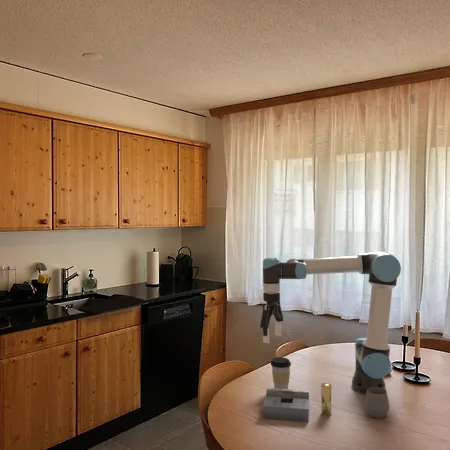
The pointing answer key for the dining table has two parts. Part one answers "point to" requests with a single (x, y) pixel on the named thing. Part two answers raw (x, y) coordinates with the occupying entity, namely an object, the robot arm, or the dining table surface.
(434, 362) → the dining table surface
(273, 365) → the coffee cup
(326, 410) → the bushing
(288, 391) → the block
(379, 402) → the cup
